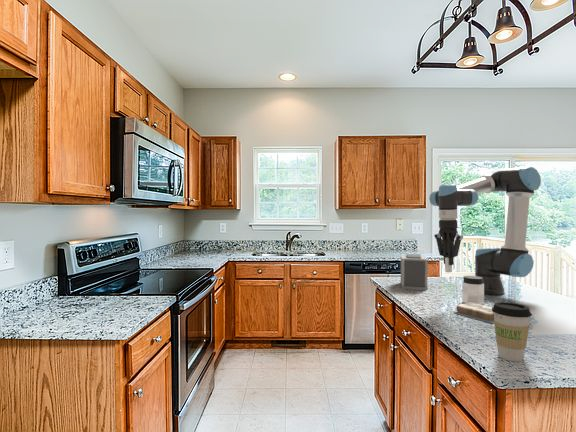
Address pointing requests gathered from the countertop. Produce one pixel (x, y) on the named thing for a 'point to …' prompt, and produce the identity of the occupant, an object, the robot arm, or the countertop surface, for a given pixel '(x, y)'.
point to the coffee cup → (511, 329)
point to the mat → (475, 317)
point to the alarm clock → (414, 272)
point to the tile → (476, 310)
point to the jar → (473, 290)
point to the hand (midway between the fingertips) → (448, 271)
